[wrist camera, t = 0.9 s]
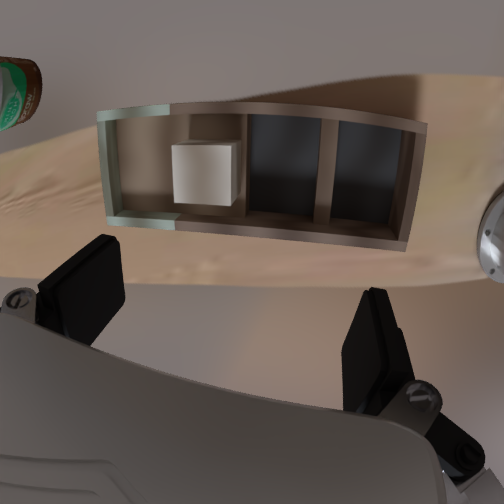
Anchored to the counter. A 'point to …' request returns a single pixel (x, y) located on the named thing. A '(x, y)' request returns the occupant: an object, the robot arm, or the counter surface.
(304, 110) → the box
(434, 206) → the counter surface
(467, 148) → the counter surface
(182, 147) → the block
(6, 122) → the food container
